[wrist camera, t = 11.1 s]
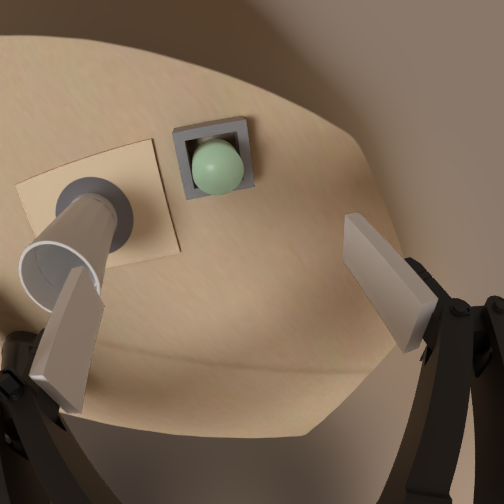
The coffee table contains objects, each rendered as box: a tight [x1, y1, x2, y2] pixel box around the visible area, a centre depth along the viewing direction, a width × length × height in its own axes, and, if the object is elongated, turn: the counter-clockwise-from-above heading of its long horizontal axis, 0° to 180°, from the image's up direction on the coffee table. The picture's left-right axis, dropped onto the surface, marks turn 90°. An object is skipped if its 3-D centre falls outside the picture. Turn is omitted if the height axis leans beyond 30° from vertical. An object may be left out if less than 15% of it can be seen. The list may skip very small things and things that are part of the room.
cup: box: [19, 193, 117, 313], centre depth 26 cm, size 8×8×12 cm
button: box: [192, 139, 244, 195], centre depth 26 cm, size 4×4×4 cm
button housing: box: [172, 116, 255, 200], centre depth 29 cm, size 7×7×3 cm
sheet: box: [15, 139, 180, 269], centre depth 31 cm, size 18×14×1 cm
